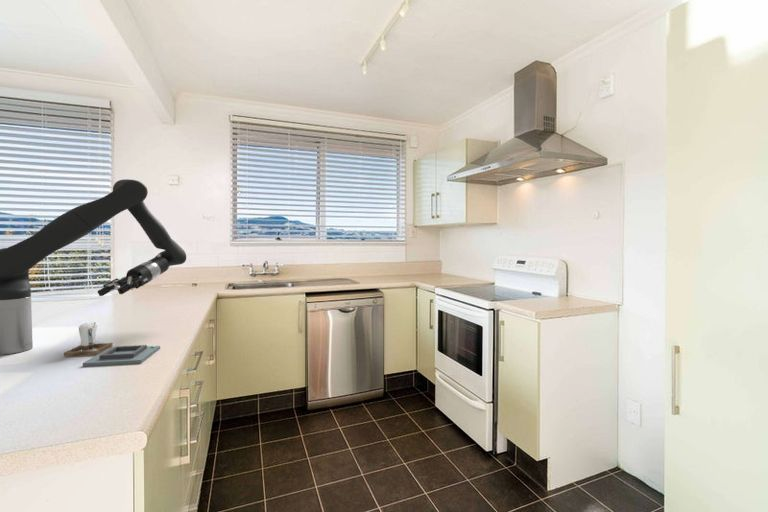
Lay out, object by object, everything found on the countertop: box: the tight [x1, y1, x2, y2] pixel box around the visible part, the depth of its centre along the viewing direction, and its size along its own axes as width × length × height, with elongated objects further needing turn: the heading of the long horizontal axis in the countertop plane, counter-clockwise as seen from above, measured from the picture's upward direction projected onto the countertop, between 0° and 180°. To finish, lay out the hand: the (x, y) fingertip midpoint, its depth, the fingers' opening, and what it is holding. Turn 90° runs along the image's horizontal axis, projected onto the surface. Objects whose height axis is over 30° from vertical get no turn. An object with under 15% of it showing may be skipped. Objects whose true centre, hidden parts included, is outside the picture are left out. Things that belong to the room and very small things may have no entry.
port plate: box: [82, 344, 161, 368], centre depth 109 cm, size 15×14×2 cm
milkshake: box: [78, 321, 98, 351], centre depth 114 cm, size 4×5×10 cm
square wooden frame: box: [63, 342, 113, 358], centre depth 114 cm, size 9×9×1 cm
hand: (109, 292), depth 124 cm, fingers open, 8 cm apart
